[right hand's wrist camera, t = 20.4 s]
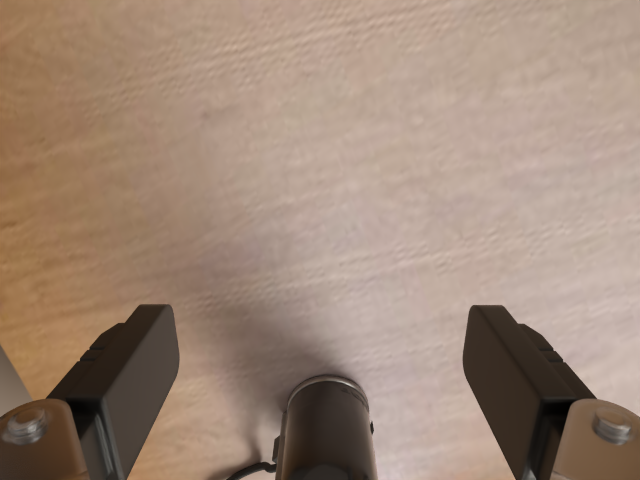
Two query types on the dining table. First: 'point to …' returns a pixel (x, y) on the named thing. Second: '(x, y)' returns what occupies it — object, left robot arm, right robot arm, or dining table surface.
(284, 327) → the dining table surface
